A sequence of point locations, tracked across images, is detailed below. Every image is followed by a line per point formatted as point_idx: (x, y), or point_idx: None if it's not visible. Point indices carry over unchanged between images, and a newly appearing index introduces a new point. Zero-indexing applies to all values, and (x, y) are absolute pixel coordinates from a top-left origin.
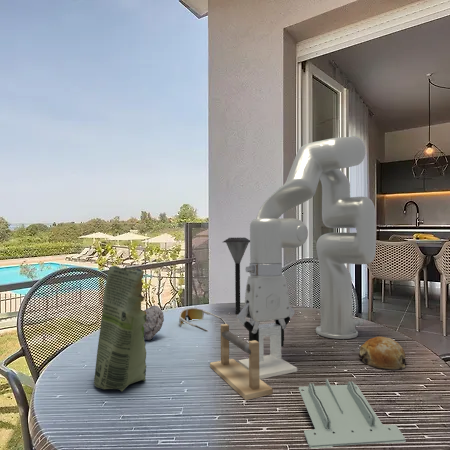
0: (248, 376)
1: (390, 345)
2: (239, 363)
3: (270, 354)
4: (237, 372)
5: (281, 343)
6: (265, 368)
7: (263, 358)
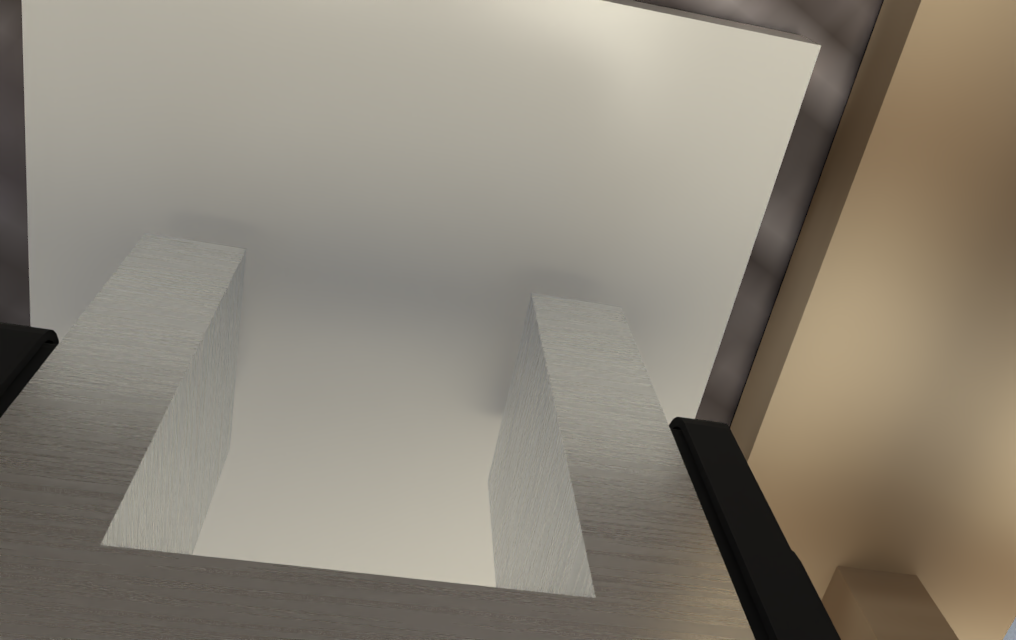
0: (997, 96)
1: None
2: None
3: (229, 443)
4: (989, 300)
5: (29, 366)
6: (532, 203)
7: (539, 315)
